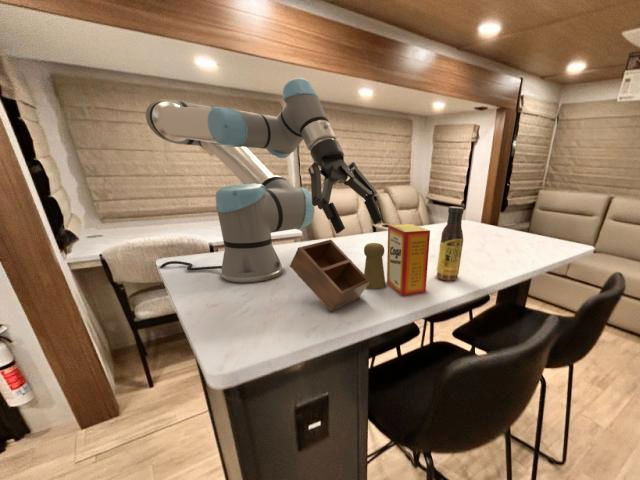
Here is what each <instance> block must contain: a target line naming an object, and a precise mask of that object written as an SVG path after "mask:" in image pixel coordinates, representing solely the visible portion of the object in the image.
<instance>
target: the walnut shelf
mask: <svg viewBox="0 0 640 480" xmlns="http://www.w3.org/2000/svg"><path fill="white" fill-rule="evenodd" d="M289 267H290V268H291V269H292V270H293V272H294V273H295V274H296V275H297V276H298V277H299V278H300V279H301V281H302V282H303V283H304V284H305V285H306V286H307V287H308V288H309V289H310V290H311V291H312V293H313V294H314V295H315V296H316V297H317V298H318V299H319V300H320V301H321V303H322V304H323V305H324V306H325V308H327V309H328V310H329V311H330V312H333V311H335V310H337V309H339V308H340V307H342V306H345V305H347V304H349V303H351V302H353V301H355V300H357V299H358V298H360V297H361V295H362V294H363V293H364V291H365V290H366V289H367V288H366V287H367V286H368V284H369V283H370V280H369V279H368V278H367V277H366V276H365V275H364V272H362V270H360V269H359V267H357V265H356V264H355V263H354V262H353V261H352V260H351V259H350V258H349V257H348V256H347V254H345V252H344V251H343V250H342V249H341V248H340V247H339V246H338V245H337V244H336V243H335V242H334V241H333V239H328V240H323V241H319V242H315V243H312V244H307V245H303V246H299V247H297V250H296V251H295V254H294V255H293V258H292V260H291V263H290V265H289Z"/></svg>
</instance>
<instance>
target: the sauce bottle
mask: <svg viewBox="0 0 640 480" xmlns="http://www.w3.org/2000/svg"><path fill="white" fill-rule="evenodd" d="M464 210H465V208H464V207H463V206H448V209H447V212H448V215H447V216H448V217H447V220H446V225H445V226H444V227H443V228H442V229H443V230H442V231H441V238H440V241H439V249H438V259H437V267H436V277H437V279H439V280H442V281H451V282H452V281H455V280H457V279H458V275H459V273H460V267H461V258H462V252H463V247H464V246H463V245H464V234H463V229H462V223H463V222H462V221H463V214H464Z"/></svg>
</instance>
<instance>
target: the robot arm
mask: <svg viewBox="0 0 640 480" xmlns="http://www.w3.org/2000/svg"><path fill="white" fill-rule="evenodd" d="M282 96H283V99H284V100H283V101H284V102H285V106H284V107H283V108H282V110H281V111H280V113H278V115H277V116H275V115H269V114H262V113H256V112H251V111H245V110H241V109H235V108H232V107H224V106H223V107H220V106H214V105H203V104H198V103H193V102H192V103H191V102H187V101H186V102H185V101H179V100H174V99H158V100H155V101H153V102H151V103H150V104H149V105H148V106H147V108H146V110H145V120H146V123H147V125H148V127H149V128H150V130H151V131H152V132H153V133H154V134H155V135H156V136H158V138H160V139H162V140H164V141H167V142H169V143H172V144H176V145H184V146H197V147H200V148H201V149H202V150H203V151H204V152H205V153H207V154H208V155H210V156H211V157H215V158H218V159H219V161H220V162H222V164H223V165H224V166H225V167H227V168H228V169H229V171H230V172H231V173H232V174H233V175H234V176H235V177H236V178H237V180H239V181H240V182H241V183H240V184H232V185H227V186H224V187H221V188H219V189H218V190H216V192H215V206H216V207H215V209H216V212H217V216H218V220H219V221H218V222H219V225H220V230H221V236H222V240H223V246H224V252H223V258H222V265H212V266H211V265H209V266H198V267H197V266H196V267H193V263H192V262H187V261H181V260H170V261H166V262H164V263H162V264H161V265H160V267H159V268H160V269H163V268H165V267H166V266H168V265H184V266H187V267H186V269H187V270H188V271H189V272H193V271H194V272H195V271H203V270H220V269H221V276H222V279H223V280H225V281H228V282H232V283H240V284H245V283H247V284H248V283H257V282H258V283H260V282H264V281H269V280H272V279H275V278H277V277H279V276H281V275H282V273H283V266H282V263H281V260H280V258H279V256H278V254H277V252H276V250H275V248H274V246H273V241H272V233H273V234H274V233H278V232H285V231H290V230H291V231H293V230H300V229H302V228H305V227H308V226H309V225H310V224H311V223H312V222H313V220H314V217H315V210H316V208H315V207H317V208H318V209H319V210H323V213H324V215H325V217H326V219H327V220H328V221H330V224H331V226H332V227H333V230H334V232H335V234H340V233H341V232H342V231H344V230H345V229H346V227H345V225H344V222H343V220H342V219H341V216H340V214H339V212H338V210H337V207H336V206H335V203H334V202H330V200H331V195H332V190H333V186H334V185H337V184H339V185H341V184H343V185H345V186H348V187H349V188H350V189H352V190H353V191H354V192H355V193H356V194H358V195H359V196H360V197H361V198H362V199H363V200H365V201H364V202H363V203H364V205H365V208H366V209H367V212H368V213H369V216H370V218H371V220H372V223H373V224H374V225H377V224H379V223H380V222H381V221H383V217H382V216H381V213H380V210H379V206H378V204H377V203H376V200H375V196H376V195H377V194H378V191H377V189H376V188H375V187H374V186H373V185H372V184H371V182H369V180H368V179H367V178H366V177H365V175H364V174H363V173H362V172H361V170H360V169H359V168H358V165H357V164H356V162H354V161H352V162H350V163H349V164H347V163H346V162H345V159H344V157H345V153H344V151H343V149H342V147H341V144H340V142H339V141H338V140H337V139H338V137H336V134H335V132H334V130H333V128H332V126H331V123H330V121H329V119H328V118H327V115H326V112H325V110H324V107H323V105H322V103H321V101H320V97H319V95H317V93H316V91H315V89H314V86H313V85H312V84H311V82H310V81H309V80H308V79H305V78H302V77H296V78H293V79H290V80H289V81H287V82H286V83H285V84H284V85H283V88H282ZM302 142H304V144H305V146H306V148H307V150H308V152H309V153H310V157H311V159H312V160H313V161H312V162H313V163H312V164H311V165H310V166H309V167H308V169H307V171H308V173H309V176H310V189H311V193H310V191H309V189H307V188H305V187H301V186H297V187H296V186H293V184H291V182H289V180H287V179H286V178H285V177H283V176H280V175H275V174H274V173H273V172H272V170H270V169H269V168H268V167H267V166H266V165H265V164H264V163H263V162H262V161H261V160H260V159H259V158H258V157H257V156H256V155H255V154H254V153H253V152H252V151H251V150H250V149H249V148H251V149H252V148H253V149H263V150H267V151H268V153H270V154H271V155H272V156H276V157H277V158H278V159H286V158H288V157H289V156H290V155H291V154H292V153H294V152H295V151H296V150H297V148H298V147H299V145H300V144H301V143H302ZM322 176H323V178H324V179H323V182H322ZM322 184H323V186H322Z"/></svg>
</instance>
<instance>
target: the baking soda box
mask: <svg viewBox="0 0 640 480" xmlns="http://www.w3.org/2000/svg"><path fill="white" fill-rule="evenodd" d="M430 238H431V230H429V229H427V228H424V227H422V226H420V225H416V224H412V223H402V224H401V223H400V224H387V260H386V263H387V264H386V284H387V285H388V286H389V287H391V288H392V289H393V290H394V291H396V292H397V293H398V294H399V295H401V296H402V297H405V296H412V295H417V294H425V293H426V292H427V290H426V289H427V278H428V267H429V266H428V265H429V252H430V240H431V239H430Z"/></svg>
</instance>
